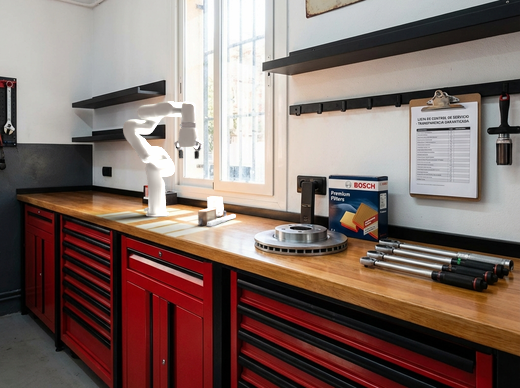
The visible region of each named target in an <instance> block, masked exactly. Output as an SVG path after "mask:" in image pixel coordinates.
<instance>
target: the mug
mask: <svg viewBox="0 0 520 388" xmlns="http://www.w3.org/2000/svg"><path fill="white" fill-rule="evenodd" d="M208 208H210V209H216V218H217V217H221V216H222V217H223V211H224V209H225V208H224V203H223V197H222V196H209V197H207V209H208Z"/></svg>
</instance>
